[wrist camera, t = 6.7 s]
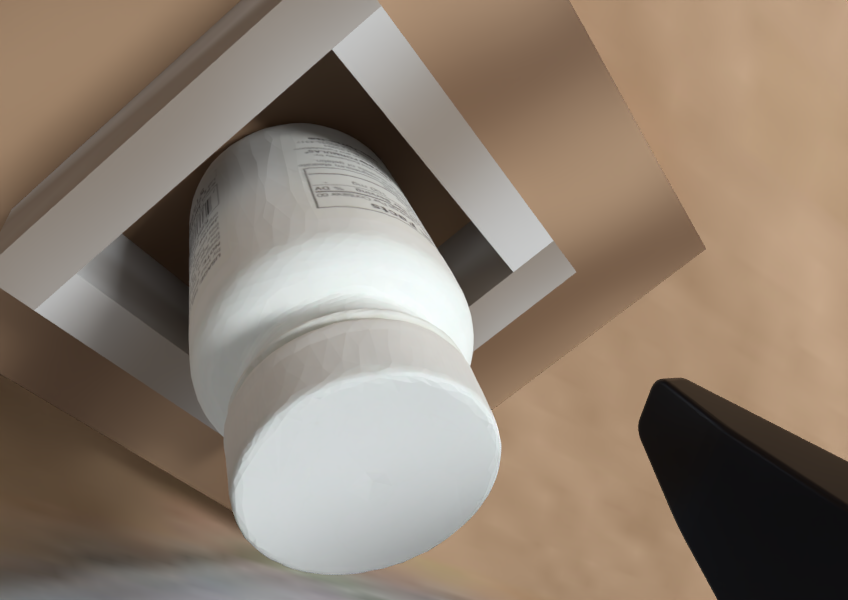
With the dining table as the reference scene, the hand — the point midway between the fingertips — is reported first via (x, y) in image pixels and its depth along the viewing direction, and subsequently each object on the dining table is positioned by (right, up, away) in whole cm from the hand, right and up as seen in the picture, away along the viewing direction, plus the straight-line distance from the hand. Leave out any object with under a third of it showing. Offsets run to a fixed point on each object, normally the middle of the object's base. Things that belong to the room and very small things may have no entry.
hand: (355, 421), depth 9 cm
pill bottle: (-2, +3, +6) cm, 7 cm away
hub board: (-2, +4, +7) cm, 8 cm away
